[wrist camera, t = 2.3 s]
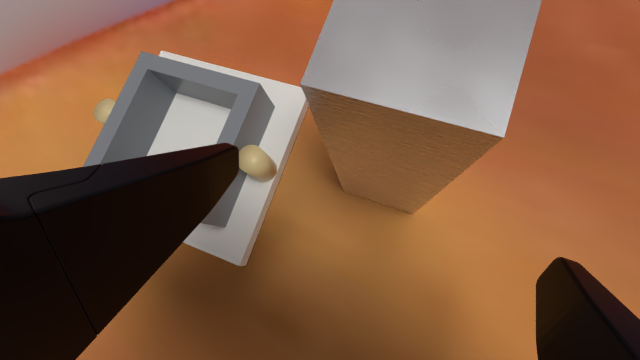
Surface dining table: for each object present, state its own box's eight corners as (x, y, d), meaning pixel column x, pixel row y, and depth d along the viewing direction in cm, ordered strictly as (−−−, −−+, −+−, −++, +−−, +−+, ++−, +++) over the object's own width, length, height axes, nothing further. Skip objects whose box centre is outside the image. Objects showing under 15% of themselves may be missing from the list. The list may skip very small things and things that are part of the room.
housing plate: (245, 265, 19) (215, 268, 16) (98, 204, 22) (41, 193, 18) (312, 96, 21) (299, 63, 18) (169, 58, 24) (131, 21, 20)
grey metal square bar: (412, 214, 19) (504, 137, 6) (343, 191, 20) (300, 83, 7) (433, 147, 19) (553, -44, 7) (366, 128, 20) (362, -70, 8)
